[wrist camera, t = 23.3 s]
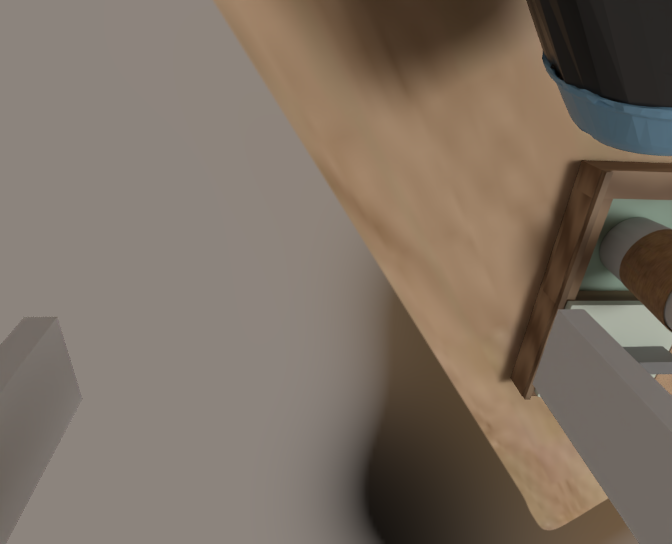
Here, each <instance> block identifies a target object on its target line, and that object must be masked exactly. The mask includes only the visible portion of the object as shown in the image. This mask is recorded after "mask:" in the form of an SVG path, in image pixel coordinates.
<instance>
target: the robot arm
mask: <svg viewBox="0 0 672 544" xmlns="http://www.w3.org/2000/svg"><path fill="white" fill-rule="evenodd" d="M526 1H527V4H528V7H529V10H530V13H531V16H532V19H533V22H534V25H535V28H536V31H537V34H538V37H539V40H540V43H541V46H542V49H543V56H542V59H543V63H544V66H545V68H546V71H547V72H548V74H549V75H550V77H551V78H552V79H553V80H554V81H555V82H556V83H557V86H558V88H559V90H560V93H561V95H562V98H563V100H564V103H565V105H566V108H567V110H568V112H569V115H570V116H571V118H572V120H573V121H574V122H575V124H576V125H577V126H578V127H579V128H580V129H581V130H582V131H584V132H586V133H588V134H590V135H591V136H592V137H593V138H594V139H596V140H598V141H599V142H601V143H603V144H605V145H607V146H610V147H613V148H616V149H620V150H624V151H628V152H633V153H639V154H647V155H658V156H672V0H526ZM533 386H534V387H535V389H536V390H537V392H538V393H539V395H540V396H541V398H542V399H543V401H544V402H545V404H546V405H547V407H548V408H549V410H550V411H551V413H552V414H553V416H554V417H555V419H556V420H557V422H558V423H559V425H560V426H561V428H562V429H563V431H564V432H565V433H566V435H567V436H568V438H569V439H570V441H571V442H572V444H573V445H574V447H575V448H576V450H577V451H578V453H579V454H580V456H581V457H582V459H583V460H584V462H585V463H586V465H587V466H588V468H589V469H590V471H591V472H592V474H593V475H594V477H595V478H596V480H597V481H598V483H599V484H600V486H601V487H602V489H603V490H604V492H605V493H606V495H607V496H608V498H609V499H610V501H611V502H612V504H613V505H614V506H615V508H616V510H617V511H618V513H619V514H620V516H621V517H622V519H623V520H624V522H625V523H626V525H627V526H628V528H629V529H630V531H631V532H632V534H633V535H634V537H635V538H636V540H637V541H638V543H639V544H672V395H671V394H670V393H668V392H667V391H666V390H665V389H664V388H663V387H662V386H661V385H660V384H659V383H658V382H657V381H656V380H655V379H654V378H653V377H652V376H651V375H650V374H649V373H648V372H647V371H646V370H645V369H644V368H643V367H642V366H641V365H640V364H639V363H638V362H637V361H636V360H635V359H634V358H633V357H632V356H631V355H630V354H629V353H628V352H627V351H626V350H625V349H624V348H623V347H622V346H621V345H620V344H619V343H618V342H617V341H616V340H615V339H614V338H613V337H612V336H611V335H610V334H609V333H608V332H607V331H606V330H605V329H604V328H603V327H602V326H601V325H600V324H599V323H598V322H597V321H595V320H594V319H593V318H592V317H591V316H590V315H589V314H588V313H587V312H586V311H585V310H584V309H562V310H558V312H557V315H556V317H555V320H554V323H553V326H552V329H551V332H550V335H549V338H548V340H547V343H546V346H545V349H544V352H543V355H542V358H541V361H540V363H539V366H538V369H537V372H536V375H535V378H534V381H533ZM81 401H82V396H81V393H80V390H79V386H78V383H77V380H76V377H75V373H74V370H73V367H72V364H71V360H70V357H69V354H68V350H67V347H66V344H65V341H64V337H63V334H62V331H61V327H60V324H59V321H58V318H57V317H24V318H23V319H22V320H21V322H20V323H19V324H18V325H17V326H16V327H15V328H14V330H13V331H12V332H11V333H10V334H9V335H8V337H7V338H6V339H5V340H4V341H3V342H2V343H1V345H0V544H6V543H7V541H8V539H9V537H10V535H11V533H12V531H13V530H14V528H15V526H16V524H17V522H18V520H19V518H20V516H21V514H22V512H23V511H24V508H25V506H26V505H27V503H28V501H29V499H30V497H31V495H32V493H33V492H34V490H35V488H36V486H37V484H38V482H39V480H40V478H41V476H42V475H43V472H44V471H45V469H46V467H47V465H48V463H49V461H50V459H51V457H52V456H53V454H54V452H55V450H56V448H57V446H58V444H59V442H60V440H61V438H62V437H63V435H64V433H65V431H66V429H67V427H68V425H69V423H70V421H71V419H72V417H73V416H74V414H75V412H76V410H77V408H78V406H79V404H80V402H81Z"/></svg>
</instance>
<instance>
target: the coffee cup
mask: <svg viewBox="0 0 672 544" xmlns="http://www.w3.org/2000/svg"><path fill="white" fill-rule="evenodd" d="M599 254H600V259H601V262H602V263H603V265H604V266H605V267H606V268H607V269H608V270H609V271H610V272H611V273H612V274H613V275H614V276H616V277H617V278H618V279H619V280H620V281H621V282H622V283H623V285H624V286H625V287H626V288H627V289H628V290H629V291H630V292H631V293H632V294H633V295H634V296H635V297H636V298H637V299H638V300H639V301H640V302H641V303H642V304H643V305H644V306H645V307H646V308H647V309H648V310H649V311H650V312H651V313H652V314H653V315H654V316H655V317H656V318H657V319H658V320H659V321H660V322H661V323H662V324H663V325H664V326H665V327H666V328H667V329H668V330H669V331H670V332H672V229H671V228H668V227H666V226H664V225H662V224H659V223H657V222H655V221H652V220H650V219H647V218H643V217H635V218H630V219H627V220H624V221H622V222H621V223H619V224H617V225H616V226H615V227H613V228H612V229H611V230H610V231H609V232H608V233H607V235H606V236H605V237H604V239H603V241H602V243H601V246H600V251H599Z"/></svg>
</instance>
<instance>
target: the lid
mask: <svg viewBox="0 0 672 544" xmlns="http://www.w3.org/2000/svg"><path fill="white" fill-rule="evenodd" d="M565 309H584V310H585V311H586V312H587V313H588V314H589V315H590V316H591V317H592V318H593V319H594V320H595V321H597V322H598V323H599V324H600V325H601V326H602V327H603V328H604V329H605V330H606V331H607V332H608V333H609V334H610V335H611V336H612V337H613V338H614V339H615V340H616V341H617V342H618V343H619V344H620V345H621V346H622V347H623V348H624V349H625V350H626V351H627V352H628V353H629V354H630V355H631V356H632V357H633V358H634V359H635V360H636V361H637V362H638V363H639V364H640V365H641V366H642V367H643V368H644V369H645V370H646V371H647V372H648V373H649V374H650V375H651V376H652V377H653V378H655V376H656V374H672V354H671V353H670V352H669V349H670V347H671V346H672V332H670V331H669V330H668V329H667V328H666V327H665V326H664V325H663V324H662V323H661V322H660V321H659V320H658V319H657V318H656V317H655V316H654V315H653V314H652V313H651V312H650V311H649V310H648V309H647V308H646V307H645V306H644V305H643V304H642V303H641V302H640V301H567V304H566V306H565ZM534 392H535V393H536V395H537V396H538V397H541V396H540V395H539V393H538V392H537V390H536V389H535V391H534Z"/></svg>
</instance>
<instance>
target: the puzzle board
mask: <svg viewBox="0 0 672 544" xmlns="http://www.w3.org/2000/svg"><path fill="white" fill-rule="evenodd" d="M635 217H643V218H647V219H650V220H652V221H655V222H657V223H659V224H662V225H664V226H666V227H668V228H671V229H672V164H671V163H643V162H614V161H586V160H582V162H581V165H580V168H579V171H578V174H577V177H576V180H575V183H574V186H573V189H572V192H571V195H570V198H569V201H568V205H567V208H566V211H565V214H564V217H563V220H562V223H561V226H560V229H559V232H558V235H557V238H556V241H555V244H554V247H553V250H552V253H551V256H550V259H549V262H548V266H547V269H546V272H545V275H544V278H543V281H542V284H541V287H540V290H539V293H538V296H537V299H536V302H535V305H534V308H533V311H532V314H531V317H530V320H529V323H528V327H527V330H526V333H525V336H524V339H523V342H522V345H521V348H520V351H519V354H518V357H517V360H516V363H515V366H514V369H513V372H512V375H511V379H512V381H513V382H514V384H515V386H516V387H517V389H518V390H519V392H520V394H521V395H522V396H523V397H524V399H530V398H531V396H537V395H536V393H535V392H534V391H535V387H534V386H533V381H534V378H535V375H536V372H537V369H538V366H539V363H540V361H541V358H542V355H543V352H544V349H545V346H546V343H547V340H548V338H549V335H550V332H551V329H552V326H553V323H554V320H555V317H556V315H557V312H558V310H562V309H565V306H566V304H567V301H639V300H638V299H637V298H636V297H635V296H634V295H633V294H632V293H631V292H630V291H629V290H628V289H627V288H626V287H625V286H624V285H623V283H622V282H621V281H620V280H619V279H618V278H617V277H616V276H614V275H613V274H612V273H611V272H610V271H609V270H608V269H607V268H606V267H605V266H604V265H603V263H602V262H601V259H600V254H599V251H600V246H601V243H602V241H603V239H604V237H605V236H606V235H607V233H608V232H609V231H610V230H611V229H612V228H613V227H615V226H616V225H617V224H619V223H621V222H622V221H624V220H627V219H630V218H635ZM671 348H672V346H671V347H670V349H669V352H670V350H671ZM657 375H658V374H656V376H655V378H656V377H657ZM655 378H654V379H655Z"/></svg>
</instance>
